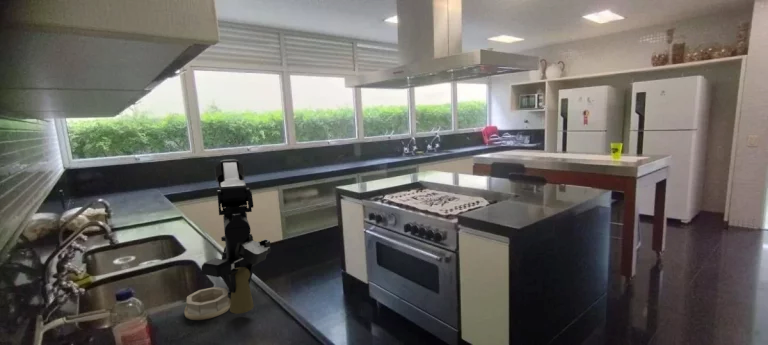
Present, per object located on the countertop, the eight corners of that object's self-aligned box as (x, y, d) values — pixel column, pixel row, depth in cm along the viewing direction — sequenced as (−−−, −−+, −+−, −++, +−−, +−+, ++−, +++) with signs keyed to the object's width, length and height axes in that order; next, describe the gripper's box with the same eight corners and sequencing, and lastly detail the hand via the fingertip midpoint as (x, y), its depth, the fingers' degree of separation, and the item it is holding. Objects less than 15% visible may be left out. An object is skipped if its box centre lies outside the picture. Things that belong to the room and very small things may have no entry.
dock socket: (185, 305, 106) (183, 292, 105) (229, 295, 111) (228, 283, 111) (184, 324, 95) (182, 310, 95) (233, 312, 101) (232, 299, 100)
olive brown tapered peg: (257, 302, 101) (254, 264, 99) (249, 313, 95) (246, 273, 93) (235, 302, 101) (232, 264, 99) (225, 313, 95) (222, 273, 93)
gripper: (232, 246, 83) (237, 310, 85) (284, 225, 101) (287, 279, 103) (197, 241, 88) (202, 302, 90) (252, 222, 105) (256, 273, 107)
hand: (240, 288), depth 97 cm, fingers closed on olive brown tapered peg, 5 cm apart
